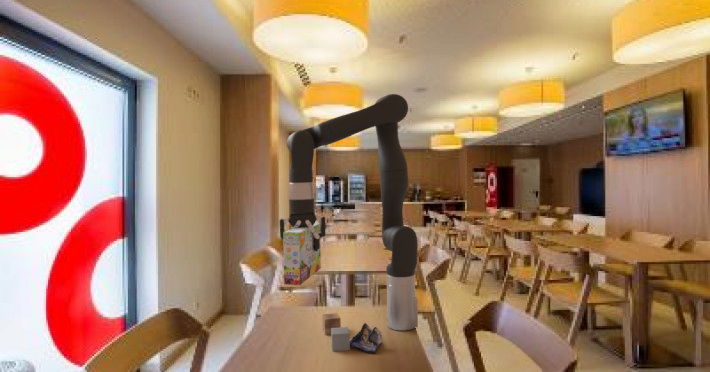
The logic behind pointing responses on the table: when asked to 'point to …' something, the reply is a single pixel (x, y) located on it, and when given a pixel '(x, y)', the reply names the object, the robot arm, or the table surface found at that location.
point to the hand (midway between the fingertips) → (303, 251)
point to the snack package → (367, 339)
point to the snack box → (300, 255)
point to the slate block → (340, 339)
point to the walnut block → (330, 322)
